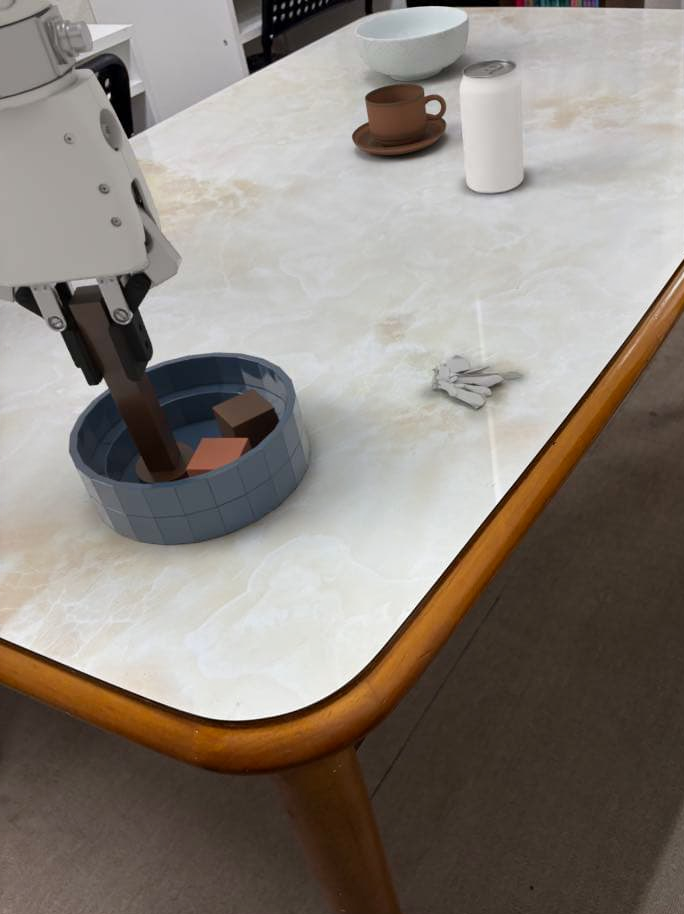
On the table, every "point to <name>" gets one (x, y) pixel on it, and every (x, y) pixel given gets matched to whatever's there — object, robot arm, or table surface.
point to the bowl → (190, 419)
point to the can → (492, 126)
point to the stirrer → (131, 395)
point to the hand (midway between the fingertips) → (120, 370)
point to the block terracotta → (216, 454)
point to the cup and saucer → (399, 121)
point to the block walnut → (246, 417)
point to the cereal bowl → (413, 41)
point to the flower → (467, 380)
